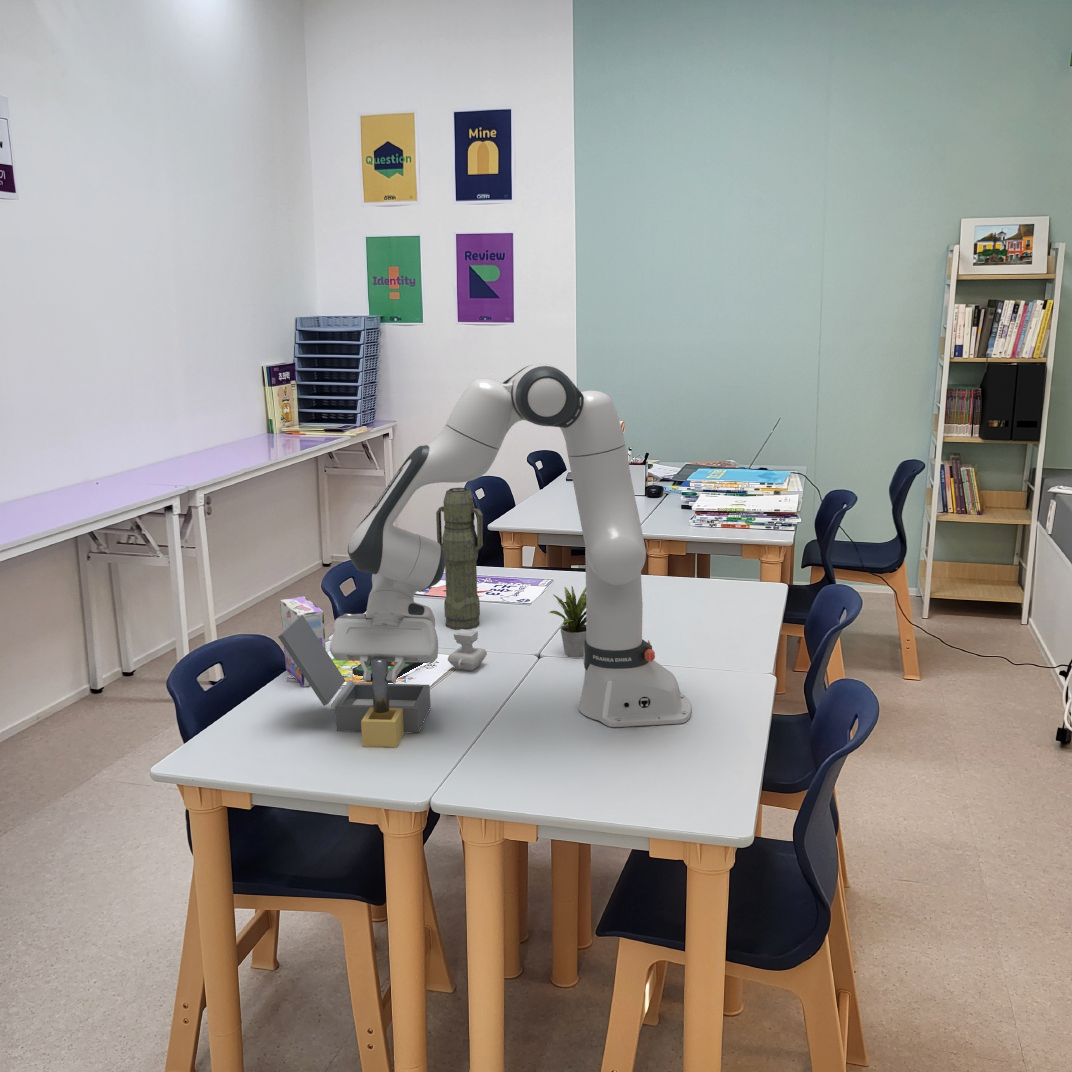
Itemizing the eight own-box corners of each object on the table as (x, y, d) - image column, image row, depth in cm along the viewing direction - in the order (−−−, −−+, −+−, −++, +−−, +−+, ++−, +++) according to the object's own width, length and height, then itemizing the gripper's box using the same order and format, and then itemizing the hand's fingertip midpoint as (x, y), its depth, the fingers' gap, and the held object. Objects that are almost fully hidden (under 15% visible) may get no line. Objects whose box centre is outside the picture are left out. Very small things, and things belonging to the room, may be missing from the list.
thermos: (481, 631, 247) (477, 493, 239) (435, 628, 249) (430, 492, 241) (489, 620, 255) (486, 486, 247) (445, 618, 257) (440, 485, 249)
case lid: (302, 614, 198) (298, 617, 199) (282, 634, 187) (277, 636, 187) (345, 680, 201) (341, 682, 201) (328, 703, 189) (323, 706, 189)
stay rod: (391, 706, 186) (389, 656, 184) (387, 713, 183) (385, 662, 181) (375, 706, 187) (373, 656, 184) (371, 712, 184) (369, 662, 181)
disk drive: (391, 659, 230) (351, 680, 217) (391, 647, 230) (351, 667, 217) (428, 666, 225) (390, 687, 213) (428, 654, 225) (390, 675, 212)
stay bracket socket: (404, 732, 189) (402, 708, 188) (396, 747, 183) (395, 722, 182) (371, 731, 190) (369, 707, 189) (362, 746, 184) (361, 721, 182)
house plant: (597, 669, 220) (597, 599, 217) (538, 662, 225) (537, 593, 221) (613, 648, 233) (613, 581, 230) (557, 642, 238) (556, 577, 234)
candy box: (329, 683, 214) (324, 610, 211) (302, 688, 212) (297, 615, 208) (309, 663, 226) (305, 594, 222) (284, 668, 223) (279, 598, 220)
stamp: (472, 676, 217) (471, 640, 215) (445, 672, 220) (444, 636, 218) (489, 662, 225) (488, 627, 223) (463, 659, 228) (462, 624, 226)
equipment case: (430, 707, 201) (429, 681, 199) (418, 732, 189) (417, 705, 188) (348, 705, 202) (347, 680, 201) (331, 730, 190) (330, 703, 189)
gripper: (332, 606, 189) (320, 673, 181) (438, 608, 187) (430, 675, 180) (340, 620, 194) (328, 686, 187) (443, 623, 192) (435, 689, 185)
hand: (379, 681), depth 183 cm, fingers closed on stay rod, 3 cm apart
